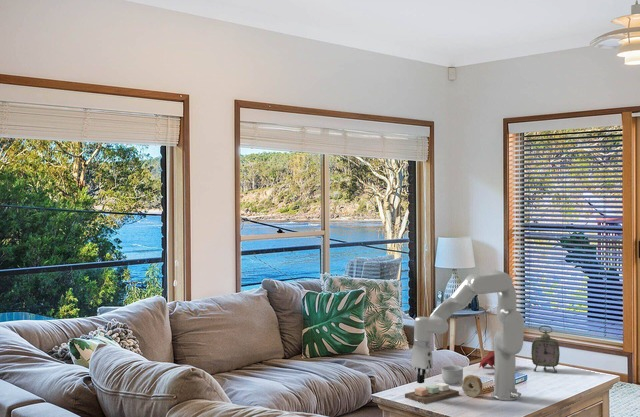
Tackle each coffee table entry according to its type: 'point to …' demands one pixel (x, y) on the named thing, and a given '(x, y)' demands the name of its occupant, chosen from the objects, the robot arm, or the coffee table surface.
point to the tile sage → (432, 389)
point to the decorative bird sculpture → (488, 360)
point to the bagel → (469, 388)
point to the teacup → (452, 374)
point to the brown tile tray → (432, 396)
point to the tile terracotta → (421, 391)
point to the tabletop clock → (545, 351)
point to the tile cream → (443, 386)
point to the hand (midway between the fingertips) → (420, 382)
